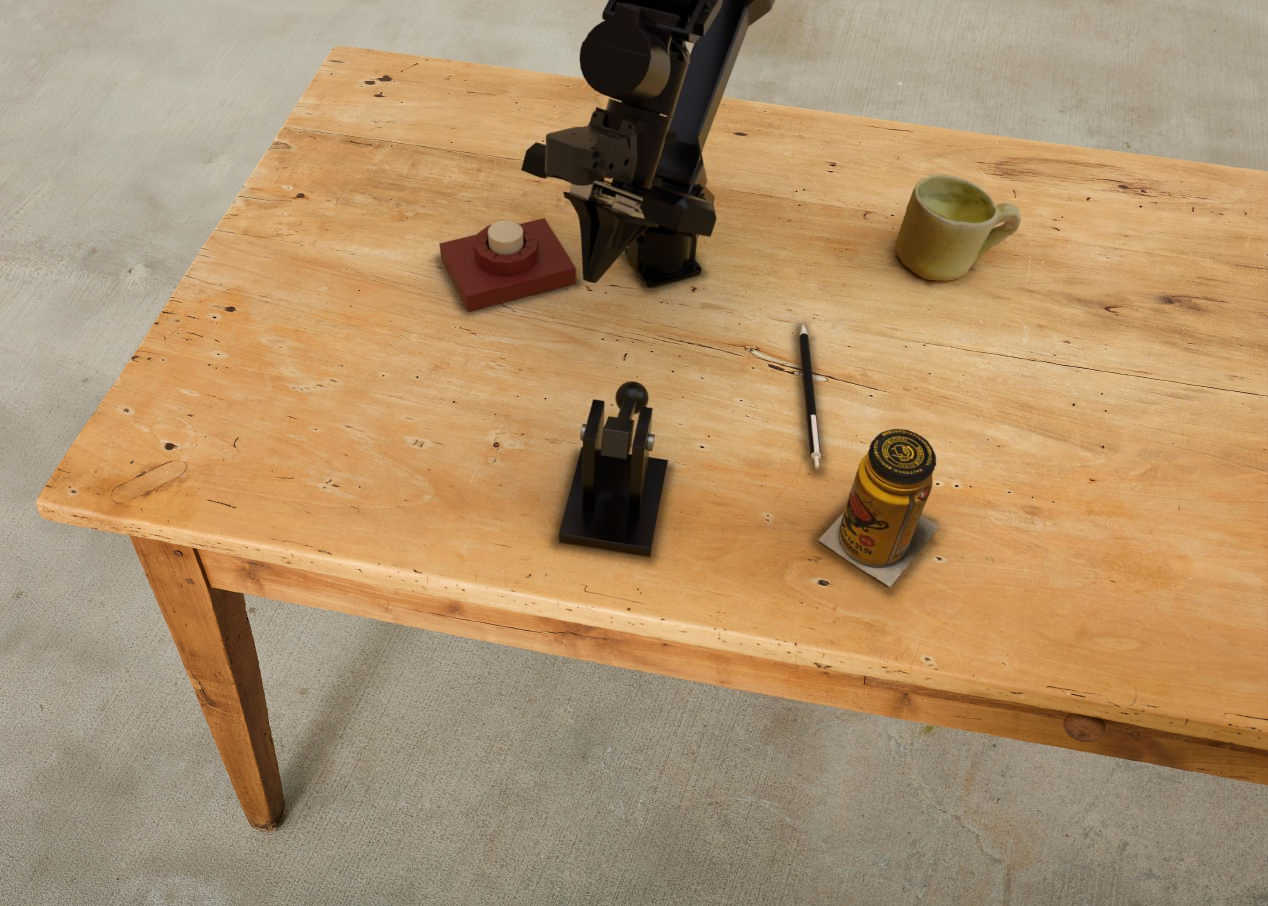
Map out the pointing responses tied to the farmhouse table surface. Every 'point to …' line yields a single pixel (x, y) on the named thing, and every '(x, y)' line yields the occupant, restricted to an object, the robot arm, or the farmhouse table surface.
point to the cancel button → (505, 237)
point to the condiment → (887, 506)
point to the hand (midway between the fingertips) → (589, 281)
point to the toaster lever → (623, 420)
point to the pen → (810, 397)
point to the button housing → (507, 266)
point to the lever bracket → (614, 490)
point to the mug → (951, 227)
